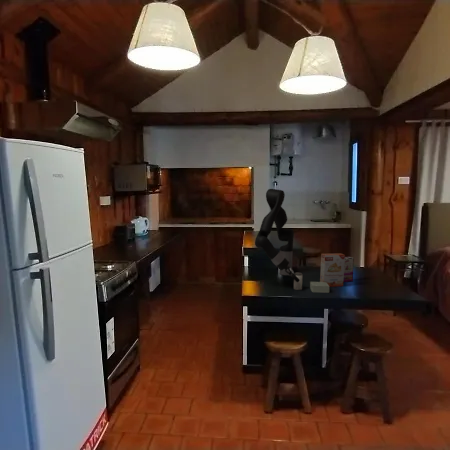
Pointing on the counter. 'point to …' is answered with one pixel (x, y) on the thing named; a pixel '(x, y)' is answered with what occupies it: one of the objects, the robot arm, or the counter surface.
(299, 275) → the jar
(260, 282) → the counter surface
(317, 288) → the base
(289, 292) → the counter surface
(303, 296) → the counter surface
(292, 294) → the counter surface
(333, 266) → the cracker box
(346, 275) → the candy bar box
